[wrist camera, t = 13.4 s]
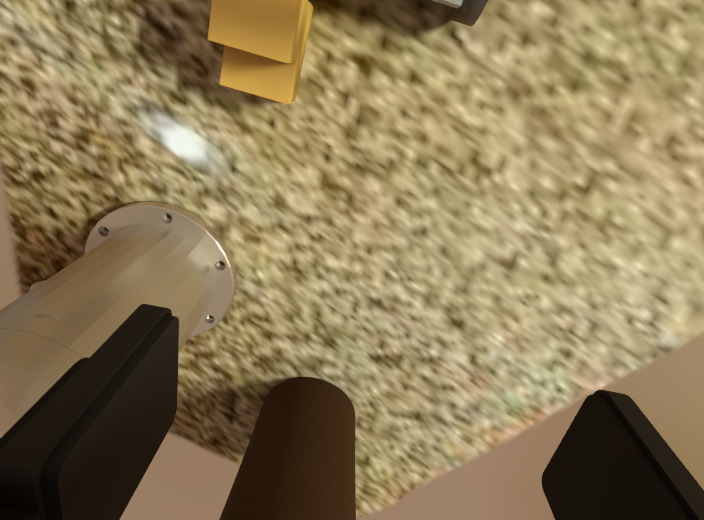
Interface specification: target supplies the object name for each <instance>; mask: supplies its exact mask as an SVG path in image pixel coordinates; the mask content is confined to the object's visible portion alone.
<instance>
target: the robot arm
mask: <svg viewBox="0 0 704 520" xmlns="http://www.w3.org/2000/svg"><path fill="white" fill-rule="evenodd" d="M169 214H170V215H171V217H170V216H169ZM221 261H222V262H224V263H222V262H221ZM236 285H237V278H236V269H235V266H234V263H233V260H232V256H231V254H230V253H229V251H228V249H227V247H226V245H225V243H224V242H223V241H222V240H221V238H220V237H219V236H218V235H217V233H216V232H215V231H214V230H213V229H212V228H211V227H209V226H208V225H207V224H206V223H205V222H204V221H202V220H201V219H199V218H198V217H196V216H195V215H193V214H192V213H190V212H187V211H185V210H183V209H181V208H178V207H176V206H172V205H168V204H164V203H158V202H139V203H132V204H128V205H125V206H122V207H119V208H118V209H116V210H114V211H112V212H110V213H108V214H107V215H106V216H105V217H103V218H102V219H101V220H99V221H98V222H97V224H96V225H95V226H94V228H93V229H92V230H91V231H90V234H89V236H88V238H87V241H86V244H85V250H84V255H83V256H82V257H80V258H79V259H77V260H76V261H74V262H73V263H71V264H70V265H68V266H67V267H65V268H64V269H62V270H61V271H59V272H58V273H56V274H55V275H53V276H52V277H50V278H49V279H47V280H44V281H39V282H35V283H34V284H32V285H31V287H30V289H29V292H27V293H26V294H24V295H23V296H21V297H20V298H18V299H17V300H15V301H14V302H13V303H11V304H9V305H8V306H6V307H5V308H3V309H2V310H0V520H119V519H120V517H121V515H122V514H123V512H124V510H125V508H126V506H127V505H128V503H129V501H130V499H131V497H132V496H133V494H134V492H135V490H136V488H137V487H138V485H139V483H140V481H141V479H142V478H143V476H144V474H145V472H146V470H147V469H148V467H149V465H150V463H151V461H152V459H153V458H154V456H155V454H156V452H157V450H158V449H159V447H160V445H161V443H162V441H163V439H164V437H165V436H166V434H167V432H168V430H169V429H170V427H171V425H172V423H173V420H174V418H175V414H176V409H177V382H178V352H179V351H180V349H181V348H182V346H183V345H184V343H185V342H186V340H187V339H188V338H189V337H193V336H196V335H200V334H202V333H204V332H206V331H208V330H210V329H211V328H213V327H214V326H215V325H217V324H218V323H219V322H220V321H221V320H222V318H223V317H224V316H225V315H226V313H227V312H228V310H229V308H230V306H231V305H232V302H233V299H234V296H235V293H236ZM542 487H543V490H544V493H545V496H546V498H547V500H548V503H549V505H550V508H551V510H552V513H553V515H554V518H555V520H704V490H703V489H702V488H701V486H700V485H699V484H698V483H697V481H696V480H695V479H694V478H693V476H692V475H691V474H690V472H689V471H688V470H687V469H686V468H685V466H684V465H683V463H682V462H681V461H680V460H679V458H678V457H677V456H676V455H675V453H674V452H673V451H672V449H671V448H670V447H669V446H668V444H667V443H666V442H665V441H664V439H663V438H662V437H661V436H660V434H659V433H658V432H657V430H656V429H655V428H654V427H653V425H652V424H651V423H650V421H649V420H648V419H647V418H646V416H645V415H644V414H643V413H642V411H641V410H640V409H639V407H638V406H637V405H636V404H635V402H634V401H633V400H632V399H631V398H630V397H629V396H628V395H625V394H621V393H616V392H610V391H605V390H598V391H596V392H595V393H594V394H593V395H589V396H587V398H586V399H585V401H584V402H583V404H582V406H581V408H580V409H579V411H578V413H577V415H576V416H575V418H574V420H573V422H572V423H571V425H570V427H569V429H568V430H567V432H566V434H565V436H564V437H563V439H562V441H561V443H560V444H559V446H558V448H557V450H556V451H555V453H554V455H553V457H552V458H551V460H550V462H549V464H548V465H547V467H546V469H545V470H544V472H543V475H542Z"/></svg>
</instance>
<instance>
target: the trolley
mask: <svg viewBox="0 0 704 520" xmlns="http://www.w3.org/2000/svg"><path fill="white" fill-rule="evenodd" d="M432 1H435V2H438V3H442V4H445V5H448V6H451V7H453V8H452V14H451V20H453V21H456V22H459V23H462V24H465V25H469V26H472V25H474V24H475V22H476V21H477V19H478V18H479V16H480V14H481V13H482V11H483V9H484V7H485V5H486V3H487V1H488V0H432Z"/></svg>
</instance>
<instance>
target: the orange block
mask: <svg viewBox="0 0 704 520" xmlns="http://www.w3.org/2000/svg"><path fill="white" fill-rule="evenodd" d="M313 8H314V6H313V5H312V4H311V3H310V2H309V1H308V0H212V5H211V14H210V23H209V32H208V40H210V41H213V42H217V43H220V44H223V45H224V53H223V61H222V69H221V77H220V85H223V86H226V87H230V88H233V89H237V90H240V91H244V92H247V93H251V94H254V95H258V96H261V97H264V98H268V99H271V100H275V101H278V102H282V103H285V104H289V103H291V102H293V101H295V98H296V93H297V88H298V83H299V78H300V73H301V68H302V63H303V58H304V53H305V48H306V43H307V38H308V33H309V28H310V23H311V18H312V13H313Z"/></svg>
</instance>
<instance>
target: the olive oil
mask: <svg viewBox="0 0 704 520" xmlns="http://www.w3.org/2000/svg"><path fill="white" fill-rule="evenodd" d="M219 520H356V505H355V411H354V407H353V404H352V402H351V400H350V399H349V397H348V396H347V395H346V394H345V393H344V392H343V391H342V390H341V389H339V388H338V387H336V386H335V385H333V384H331V383H328V382H326V381H323V380H319V379H314V378H297V379H291V380H288V381H285V382H283V383H281V384H279V385H277V386H276V387H275V388H273V389H272V390H271V391H270V392H269V394H268V395H267V397H266V398H265V401H264V403H263V406H262V408H261V411H260V414H259V417H258V420H257V422H256V425H255V428H254V431H253V434H252V436H251V439H250V442H249V444H248V447H247V450H246V452H245V455H244V458H243V460H242V463H241V465H240V468H239V471H238V474H237V476H236V479H235V481H234V484H233V486H232V489H231V492H230V494H229V497H228V499H227V502H226V504H225V507H224V509H223V512H222V515H221V517H220V519H219Z"/></svg>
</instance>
